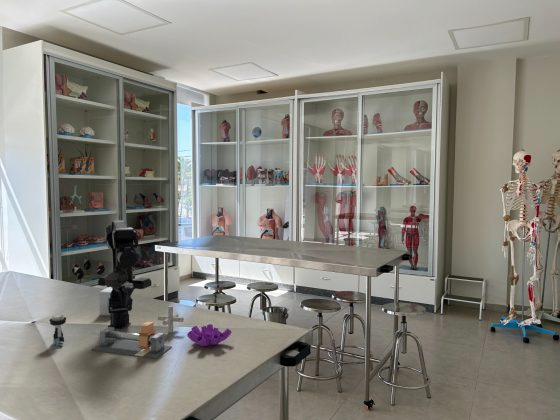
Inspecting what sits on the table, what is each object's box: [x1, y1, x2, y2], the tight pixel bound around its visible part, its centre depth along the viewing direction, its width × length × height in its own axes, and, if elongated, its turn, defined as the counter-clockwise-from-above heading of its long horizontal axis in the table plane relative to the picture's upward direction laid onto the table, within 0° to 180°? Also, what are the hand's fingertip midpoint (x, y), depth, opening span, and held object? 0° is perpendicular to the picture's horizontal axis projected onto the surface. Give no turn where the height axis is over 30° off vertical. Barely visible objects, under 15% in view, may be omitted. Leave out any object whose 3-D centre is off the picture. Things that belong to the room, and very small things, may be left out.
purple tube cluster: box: [186, 323, 232, 347], centre depth 151 cm, size 11×15×10 cm
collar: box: [138, 321, 156, 349], centre depth 145 cm, size 3×5×8 cm, turn 164°
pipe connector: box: [157, 305, 185, 333], centre depth 163 cm, size 10×10×10 cm
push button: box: [48, 314, 67, 347], centre depth 150 cm, size 7×5×10 cm
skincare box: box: [99, 287, 112, 316], centre depth 188 cm, size 10×6×10 cm, turn 179°
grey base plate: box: [91, 338, 173, 360], centre depth 147 cm, size 25×10×1 cm, turn 75°
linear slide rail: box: [99, 326, 165, 354], centre depth 146 cm, size 22×5×5 cm, turn 75°
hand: (125, 305), depth 153 cm, fingers closed
